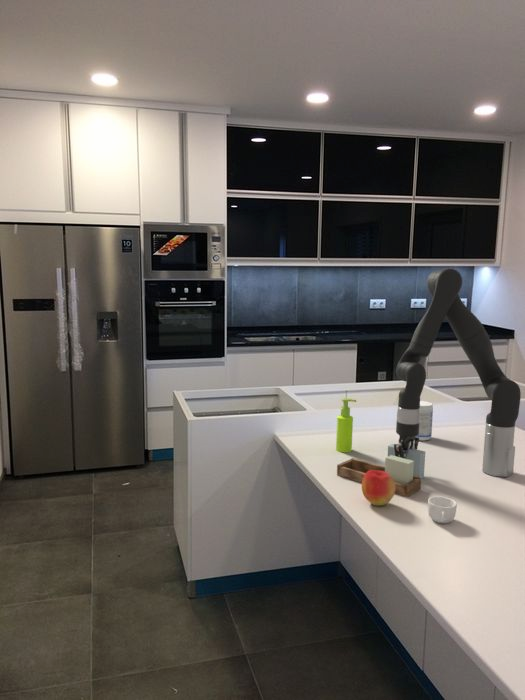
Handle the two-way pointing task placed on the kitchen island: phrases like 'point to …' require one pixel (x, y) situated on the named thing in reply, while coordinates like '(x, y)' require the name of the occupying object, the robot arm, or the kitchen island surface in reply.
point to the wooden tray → (358, 469)
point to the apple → (378, 487)
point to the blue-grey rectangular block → (413, 459)
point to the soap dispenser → (344, 428)
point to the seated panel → (399, 469)
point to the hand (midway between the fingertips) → (405, 469)
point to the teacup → (441, 509)
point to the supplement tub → (425, 421)
